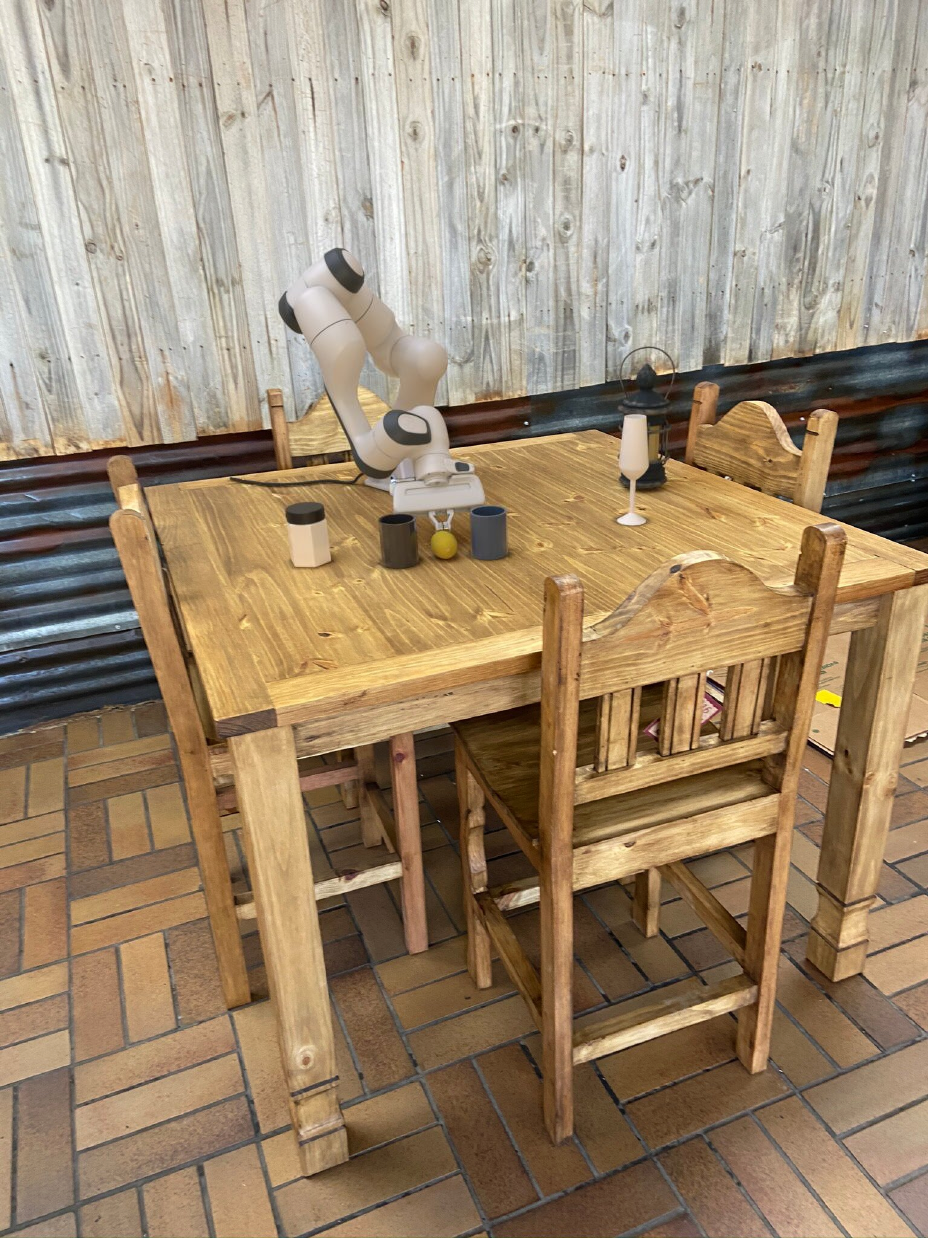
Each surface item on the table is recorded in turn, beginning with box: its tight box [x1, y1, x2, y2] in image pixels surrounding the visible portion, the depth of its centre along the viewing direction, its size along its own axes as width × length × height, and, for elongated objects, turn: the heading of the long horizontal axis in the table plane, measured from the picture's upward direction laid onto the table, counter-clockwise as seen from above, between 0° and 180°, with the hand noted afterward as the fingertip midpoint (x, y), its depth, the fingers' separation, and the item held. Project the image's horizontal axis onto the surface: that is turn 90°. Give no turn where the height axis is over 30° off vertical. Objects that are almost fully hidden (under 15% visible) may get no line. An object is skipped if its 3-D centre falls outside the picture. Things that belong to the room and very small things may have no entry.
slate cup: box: [468, 504, 509, 561], centre depth 187 cm, size 8×8×10 cm
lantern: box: [617, 345, 676, 491], centre depth 222 cm, size 14×13×35 cm
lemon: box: [430, 530, 458, 560], centre depth 187 cm, size 6×6×8 cm
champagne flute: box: [616, 414, 649, 526], centre depth 200 cm, size 7×7×24 cm
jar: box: [284, 501, 332, 568], centre depth 188 cm, size 9×8×12 cm
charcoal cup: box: [377, 513, 420, 569], centre depth 185 cm, size 8×8×10 cm
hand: (443, 531), depth 190 cm, fingers closed
